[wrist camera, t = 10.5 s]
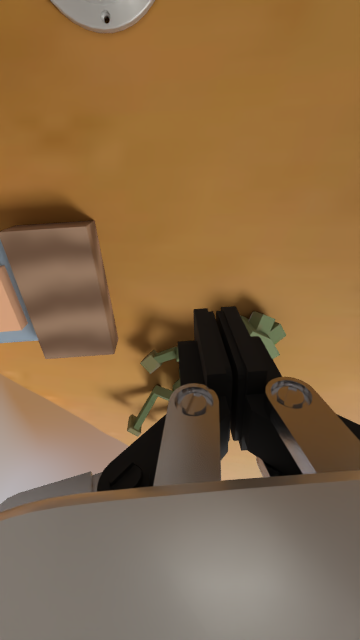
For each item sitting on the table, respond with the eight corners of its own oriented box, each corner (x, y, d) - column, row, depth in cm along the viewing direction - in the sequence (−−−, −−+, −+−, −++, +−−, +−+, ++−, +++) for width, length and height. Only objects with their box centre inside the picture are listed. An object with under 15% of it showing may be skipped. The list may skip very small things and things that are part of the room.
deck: (14, 225, 34) (-3, 232, 31) (94, 220, 34) (86, 226, 31) (55, 343, 43) (45, 359, 39) (118, 339, 43) (114, 354, 39)
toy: (187, 440, 56) (303, 343, 47) (192, 474, 49) (328, 369, 41) (101, 391, 48) (220, 266, 40) (93, 425, 41) (234, 283, 33)
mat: (-63, 239, 34) (-65, 239, 34) (16, 233, 34) (15, 234, 34) (-12, 342, 42) (-13, 343, 42) (52, 338, 42) (51, 339, 42)
